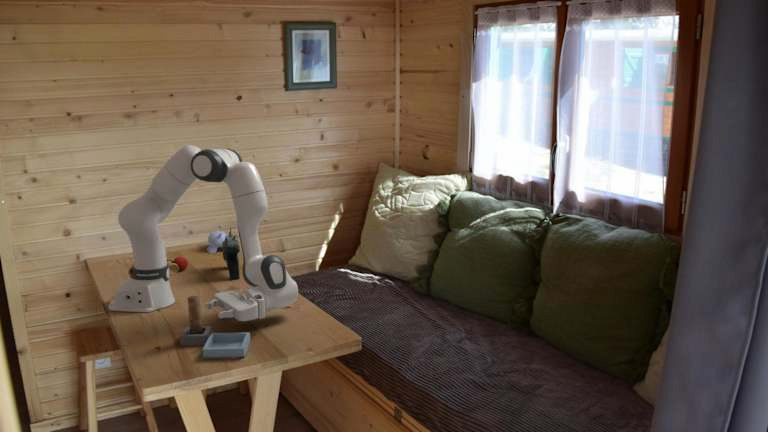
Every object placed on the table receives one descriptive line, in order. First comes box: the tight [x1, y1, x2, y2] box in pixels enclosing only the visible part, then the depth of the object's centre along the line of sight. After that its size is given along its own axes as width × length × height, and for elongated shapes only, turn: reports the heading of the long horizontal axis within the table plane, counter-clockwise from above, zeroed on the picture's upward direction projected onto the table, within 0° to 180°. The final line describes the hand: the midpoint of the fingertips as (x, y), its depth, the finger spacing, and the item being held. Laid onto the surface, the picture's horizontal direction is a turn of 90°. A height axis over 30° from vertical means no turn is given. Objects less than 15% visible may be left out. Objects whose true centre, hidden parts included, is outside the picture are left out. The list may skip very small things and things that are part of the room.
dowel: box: [187, 295, 203, 334], centre depth 220 cm, size 4×4×14 cm
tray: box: [202, 331, 252, 360], centre depth 214 cm, size 12×12×3 cm
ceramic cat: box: [222, 226, 241, 281], centre depth 284 cm, size 20×6×20 cm, turn 17°
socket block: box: [179, 325, 213, 347], centre depth 222 cm, size 8×8×3 cm
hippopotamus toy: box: [206, 230, 228, 254], centre depth 320 cm, size 11×15×10 cm
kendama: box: [167, 256, 189, 275], centre depth 288 cm, size 8×6×18 cm
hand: (212, 310), depth 223 cm, fingers open, 8 cm apart
